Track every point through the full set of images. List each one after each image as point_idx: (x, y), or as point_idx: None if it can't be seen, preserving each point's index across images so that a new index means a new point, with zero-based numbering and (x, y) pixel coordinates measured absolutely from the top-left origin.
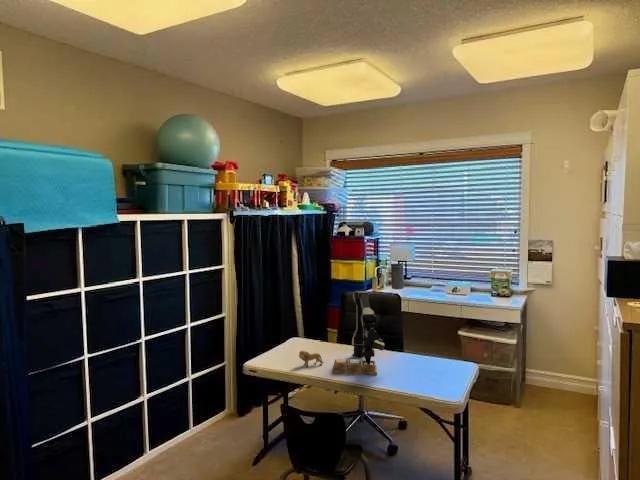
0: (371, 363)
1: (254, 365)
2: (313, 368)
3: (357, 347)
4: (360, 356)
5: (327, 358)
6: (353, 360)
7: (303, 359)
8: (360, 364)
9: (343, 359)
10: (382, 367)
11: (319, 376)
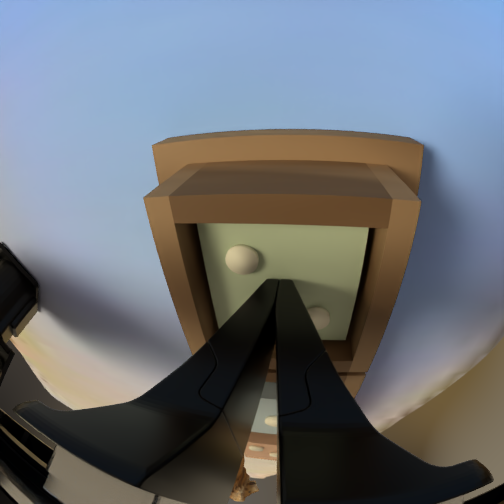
0: (251, 249)
1: (262, 477)
2: None
3: (3, 331)
4: (29, 280)
5: (131, 398)
6: (261, 422)
7: (246, 473)
8: (352, 380)
9: (256, 450)
10: (128, 77)
11: None
